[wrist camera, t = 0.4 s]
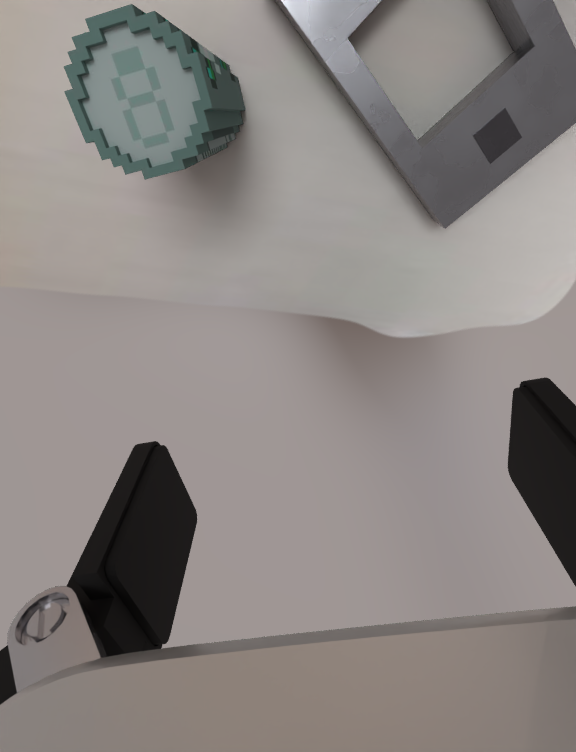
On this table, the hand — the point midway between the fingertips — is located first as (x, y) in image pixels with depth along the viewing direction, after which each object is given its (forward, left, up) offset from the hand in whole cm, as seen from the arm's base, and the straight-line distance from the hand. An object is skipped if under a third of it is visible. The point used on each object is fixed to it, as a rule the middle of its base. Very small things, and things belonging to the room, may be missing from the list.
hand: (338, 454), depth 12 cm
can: (0, -12, -29) cm, 31 cm away
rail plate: (-14, -3, -28) cm, 32 cm away
